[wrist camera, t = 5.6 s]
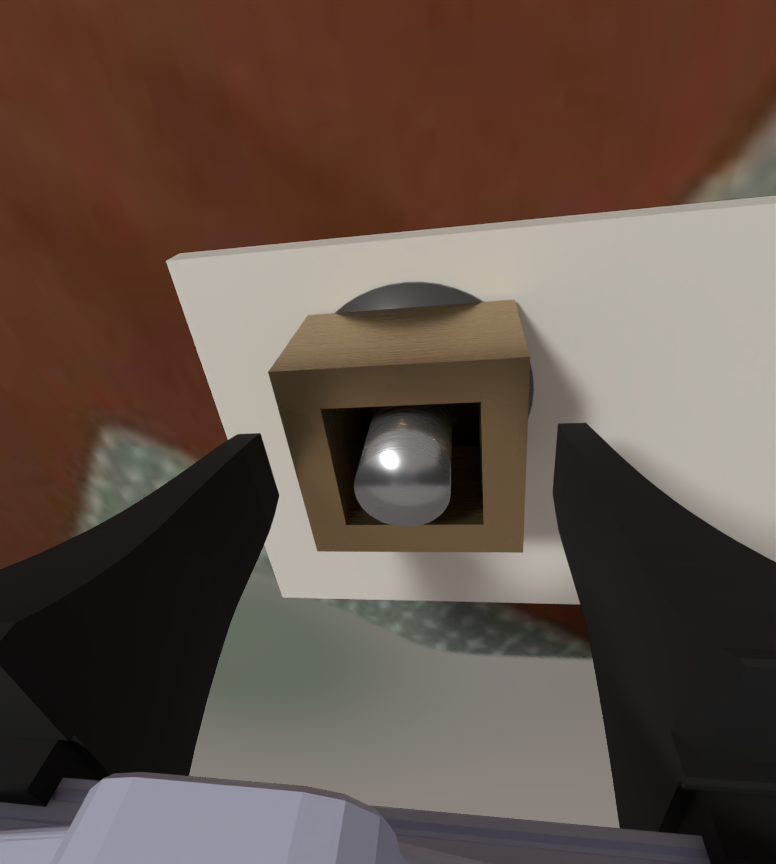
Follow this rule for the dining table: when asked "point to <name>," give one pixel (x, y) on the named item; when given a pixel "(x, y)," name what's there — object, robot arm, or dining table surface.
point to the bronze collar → (409, 385)
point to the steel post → (412, 429)
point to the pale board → (551, 367)
